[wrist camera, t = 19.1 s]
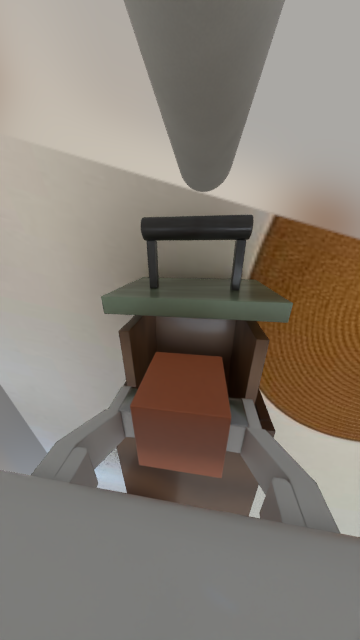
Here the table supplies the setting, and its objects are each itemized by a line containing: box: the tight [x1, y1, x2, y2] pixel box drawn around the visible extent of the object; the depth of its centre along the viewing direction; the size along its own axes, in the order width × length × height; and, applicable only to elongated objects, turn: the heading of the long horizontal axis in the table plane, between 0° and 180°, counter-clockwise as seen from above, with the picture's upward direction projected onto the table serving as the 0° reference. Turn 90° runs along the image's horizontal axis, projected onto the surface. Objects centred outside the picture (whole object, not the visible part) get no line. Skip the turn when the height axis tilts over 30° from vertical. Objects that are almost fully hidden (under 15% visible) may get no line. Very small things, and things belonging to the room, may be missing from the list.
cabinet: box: [117, 382, 275, 516], centre depth 20 cm, size 15×13×10 cm
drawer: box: [101, 215, 293, 406], centre depth 15 cm, size 18×11×8 cm, turn 0°
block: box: [130, 352, 231, 478], centre depth 9 cm, size 4×4×4 cm
